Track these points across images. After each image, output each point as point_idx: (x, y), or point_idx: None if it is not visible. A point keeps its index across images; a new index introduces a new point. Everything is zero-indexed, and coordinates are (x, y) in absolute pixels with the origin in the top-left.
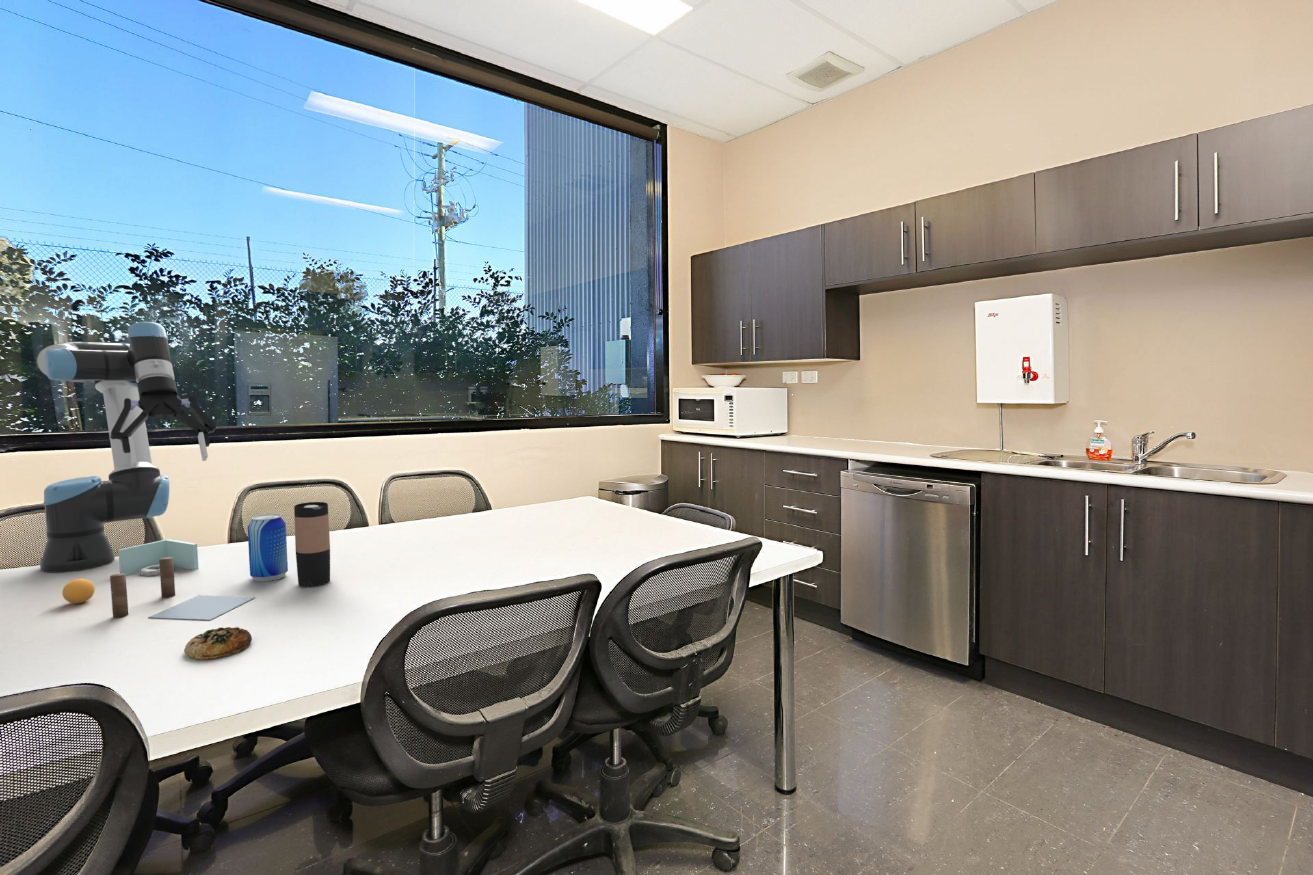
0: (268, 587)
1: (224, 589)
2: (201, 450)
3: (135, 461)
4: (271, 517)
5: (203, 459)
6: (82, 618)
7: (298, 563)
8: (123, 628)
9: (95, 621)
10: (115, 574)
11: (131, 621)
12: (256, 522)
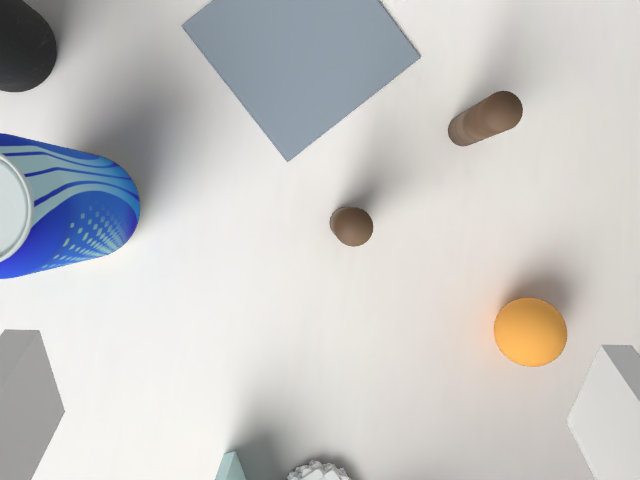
0: (126, 103)
1: (222, 175)
2: (6, 466)
3: (616, 356)
4: None
5: (52, 386)
6: (530, 176)
7: (18, 15)
8: (476, 17)
9: None
10: (506, 125)
11: (453, 61)
12: (30, 172)
